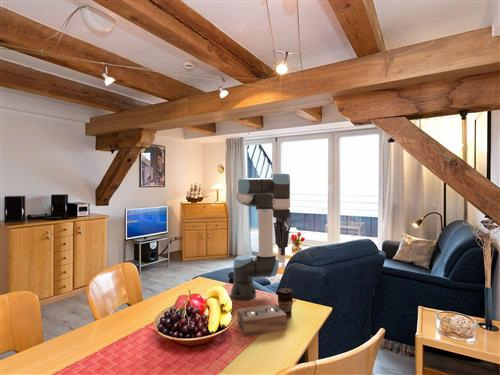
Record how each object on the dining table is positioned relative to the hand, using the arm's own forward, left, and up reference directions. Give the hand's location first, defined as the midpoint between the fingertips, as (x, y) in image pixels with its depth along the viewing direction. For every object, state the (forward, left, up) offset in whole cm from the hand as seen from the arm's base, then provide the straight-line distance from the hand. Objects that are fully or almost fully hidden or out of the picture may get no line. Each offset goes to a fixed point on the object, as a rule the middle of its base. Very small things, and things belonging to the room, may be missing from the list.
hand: (281, 262), depth 122 cm
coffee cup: (-17, +9, -33) cm, 38 cm away
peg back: (-10, -1, -31) cm, 33 cm away
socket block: (-10, -6, -33) cm, 35 cm away
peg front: (-10, -11, -31) cm, 34 cm away
